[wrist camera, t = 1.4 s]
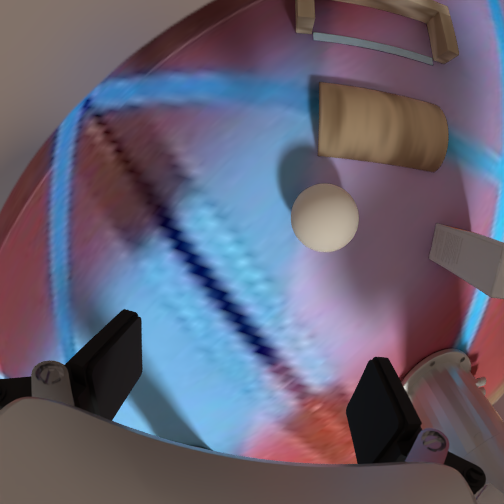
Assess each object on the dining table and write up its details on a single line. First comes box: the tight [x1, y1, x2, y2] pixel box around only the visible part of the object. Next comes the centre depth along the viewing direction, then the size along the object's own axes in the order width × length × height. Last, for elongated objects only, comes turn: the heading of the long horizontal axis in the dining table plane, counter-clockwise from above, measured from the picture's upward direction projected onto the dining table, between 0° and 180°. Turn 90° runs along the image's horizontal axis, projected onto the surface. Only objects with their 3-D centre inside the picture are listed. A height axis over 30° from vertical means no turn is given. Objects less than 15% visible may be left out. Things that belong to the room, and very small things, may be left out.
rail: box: [295, 0, 459, 64], centre depth 20 cm, size 18×7×4 cm, turn 88°
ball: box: [291, 183, 359, 252], centre depth 25 cm, size 6×6×6 cm
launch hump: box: [318, 82, 449, 172], centre depth 26 cm, size 13×8×8 cm, turn 88°
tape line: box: [313, 32, 433, 65], centre depth 22 cm, size 14×1×1 cm, turn 88°
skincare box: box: [429, 223, 504, 299], centre depth 21 cm, size 6×4×12 cm
